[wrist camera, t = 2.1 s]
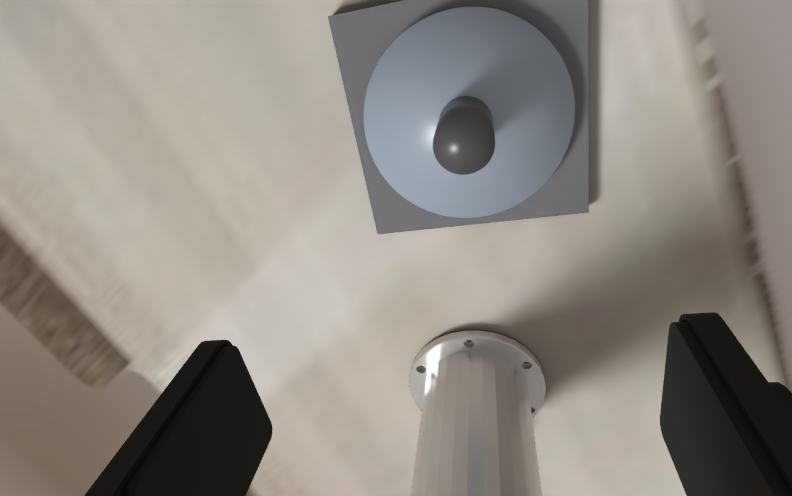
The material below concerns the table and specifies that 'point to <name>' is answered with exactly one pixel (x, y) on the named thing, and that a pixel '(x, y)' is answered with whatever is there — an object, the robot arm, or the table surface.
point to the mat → (381, 25)
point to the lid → (469, 112)
